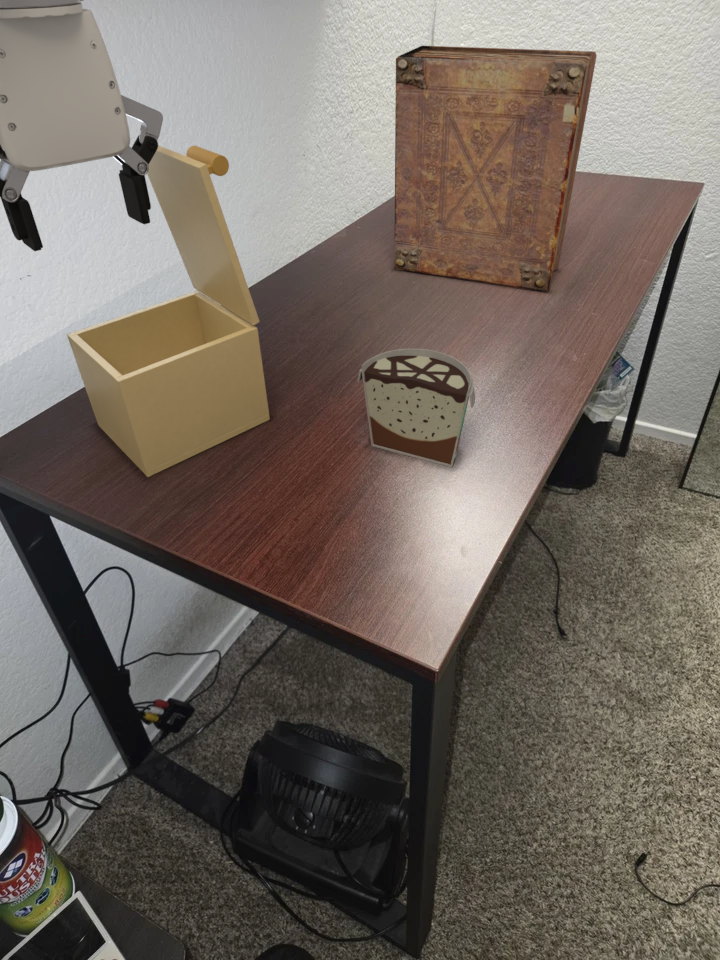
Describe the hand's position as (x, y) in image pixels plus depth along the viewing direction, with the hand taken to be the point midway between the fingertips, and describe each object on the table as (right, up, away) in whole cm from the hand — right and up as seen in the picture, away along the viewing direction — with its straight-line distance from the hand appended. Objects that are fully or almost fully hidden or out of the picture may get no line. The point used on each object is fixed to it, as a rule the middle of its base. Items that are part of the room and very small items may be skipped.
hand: (88, 232), depth 57 cm
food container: (+31, -17, +16) cm, 39 cm away
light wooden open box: (+3, -15, +19) cm, 25 cm away
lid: (+7, +3, +9) cm, 12 cm away
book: (+43, +13, +50) cm, 67 cm away
